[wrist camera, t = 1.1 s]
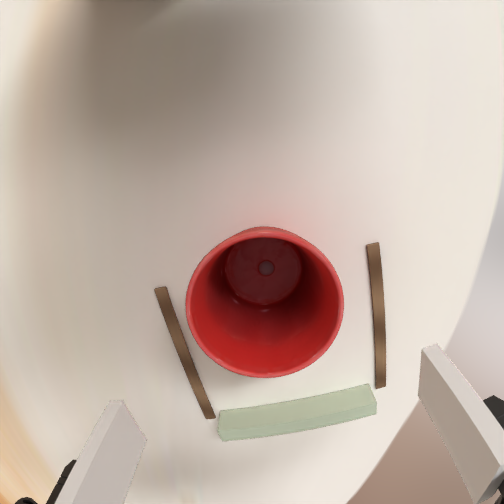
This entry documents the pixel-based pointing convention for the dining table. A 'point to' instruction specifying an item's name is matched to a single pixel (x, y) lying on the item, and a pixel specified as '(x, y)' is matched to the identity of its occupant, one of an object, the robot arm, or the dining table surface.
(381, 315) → the guide strips
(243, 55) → the dining table surface
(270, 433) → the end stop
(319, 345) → the flower pot
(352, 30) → the dining table surface
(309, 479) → the dining table surface
